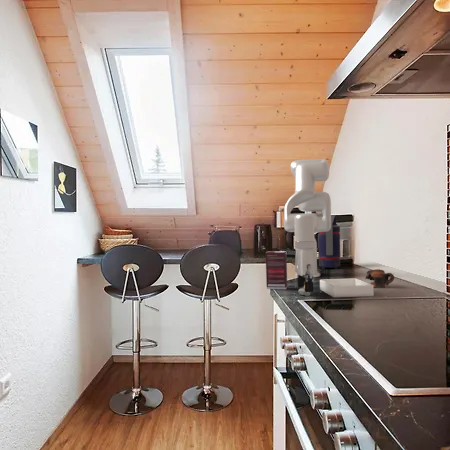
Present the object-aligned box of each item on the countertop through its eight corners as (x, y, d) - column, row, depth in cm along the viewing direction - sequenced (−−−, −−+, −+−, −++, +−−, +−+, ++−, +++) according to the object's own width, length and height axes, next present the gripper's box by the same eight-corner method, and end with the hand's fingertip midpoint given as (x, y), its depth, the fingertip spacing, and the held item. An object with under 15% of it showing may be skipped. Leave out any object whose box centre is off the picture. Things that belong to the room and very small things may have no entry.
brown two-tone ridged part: (363, 288, 159) (361, 270, 163) (371, 294, 166) (369, 277, 169) (392, 283, 152) (389, 264, 156) (400, 290, 158) (397, 272, 162)
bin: (320, 289, 157) (319, 279, 157) (356, 287, 158) (355, 278, 158) (333, 297, 141) (333, 286, 141) (373, 295, 143) (373, 285, 142)
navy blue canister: (319, 266, 223) (318, 215, 222) (339, 266, 220) (339, 215, 219) (318, 269, 210) (317, 216, 209) (341, 270, 207) (340, 215, 206)
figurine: (295, 294, 148) (297, 279, 147) (304, 293, 150) (305, 278, 149) (304, 298, 143) (306, 283, 142) (313, 297, 146) (315, 282, 145)
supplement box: (287, 287, 162) (286, 250, 161) (286, 289, 157) (285, 252, 157) (267, 286, 164) (267, 250, 164) (265, 289, 160) (265, 252, 159)
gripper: (289, 244, 154) (290, 285, 155) (301, 248, 137) (302, 294, 137) (307, 243, 155) (308, 285, 155) (321, 247, 138) (322, 293, 138)
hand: (305, 289), depth 146 cm, fingers open, 9 cm apart
